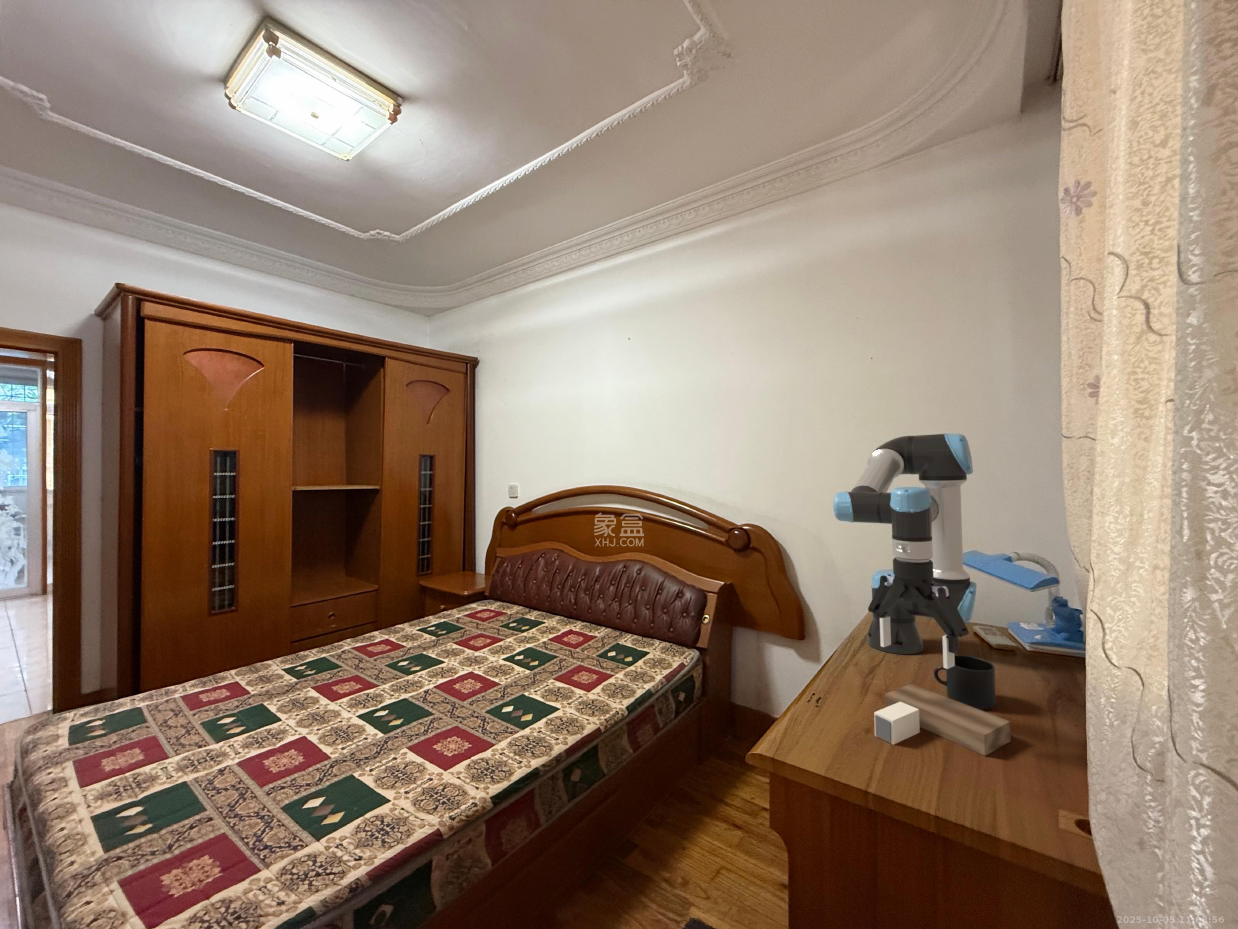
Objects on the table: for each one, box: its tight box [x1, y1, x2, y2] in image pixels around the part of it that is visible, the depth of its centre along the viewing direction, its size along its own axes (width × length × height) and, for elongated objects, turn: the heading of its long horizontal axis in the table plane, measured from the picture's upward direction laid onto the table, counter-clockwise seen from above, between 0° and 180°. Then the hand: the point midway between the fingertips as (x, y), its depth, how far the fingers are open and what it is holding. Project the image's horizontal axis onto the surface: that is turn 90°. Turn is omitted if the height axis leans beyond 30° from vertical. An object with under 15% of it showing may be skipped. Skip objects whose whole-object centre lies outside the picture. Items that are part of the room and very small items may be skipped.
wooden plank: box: [884, 683, 1012, 757], centre depth 105 cm, size 10×20×4 cm, turn 28°
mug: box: [933, 654, 997, 711], centre depth 116 cm, size 9×12×9 cm
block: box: [873, 702, 921, 746], centre depth 102 cm, size 5×4×9 cm
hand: (915, 655), depth 106 cm, fingers open, 13 cm apart
